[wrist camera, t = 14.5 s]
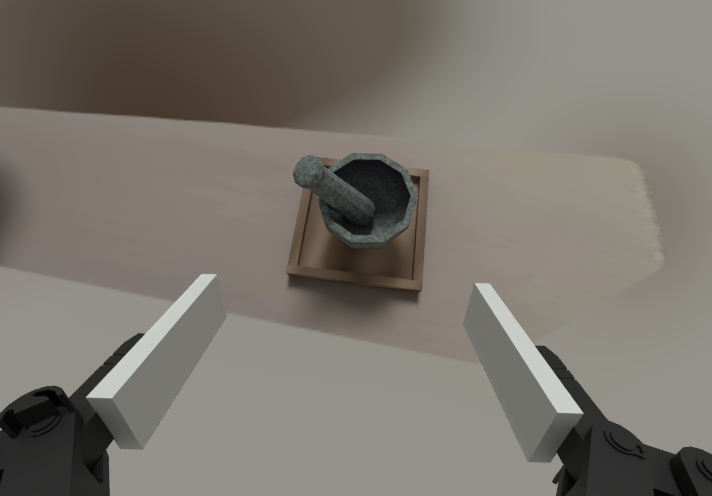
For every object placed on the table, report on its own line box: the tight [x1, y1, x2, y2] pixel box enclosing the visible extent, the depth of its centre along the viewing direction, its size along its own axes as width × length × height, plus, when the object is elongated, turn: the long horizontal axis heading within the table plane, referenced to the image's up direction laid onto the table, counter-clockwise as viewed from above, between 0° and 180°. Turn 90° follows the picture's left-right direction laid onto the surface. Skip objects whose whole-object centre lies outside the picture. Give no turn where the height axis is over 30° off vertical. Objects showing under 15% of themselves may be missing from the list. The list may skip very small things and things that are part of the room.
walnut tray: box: [286, 157, 429, 292], centre depth 33 cm, size 15×15×2 cm
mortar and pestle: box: [293, 153, 418, 248], centre depth 27 cm, size 11×9×12 cm
